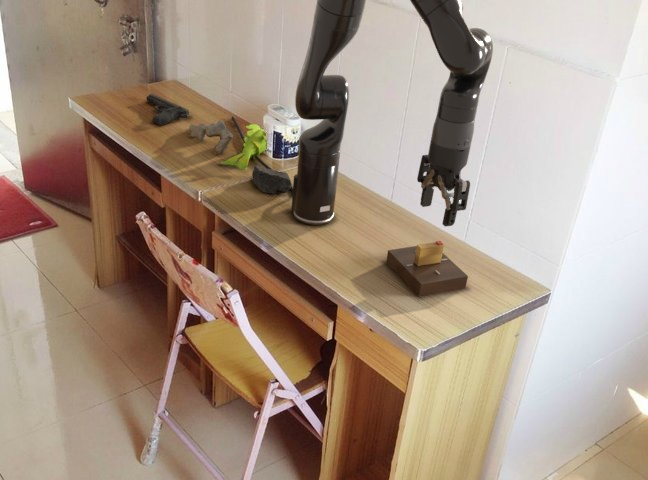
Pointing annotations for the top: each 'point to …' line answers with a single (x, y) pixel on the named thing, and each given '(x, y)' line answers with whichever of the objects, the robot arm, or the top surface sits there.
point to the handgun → (166, 110)
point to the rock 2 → (271, 180)
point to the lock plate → (426, 272)
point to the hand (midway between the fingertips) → (436, 215)
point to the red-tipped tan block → (428, 253)
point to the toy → (250, 147)
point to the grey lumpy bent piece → (213, 134)
